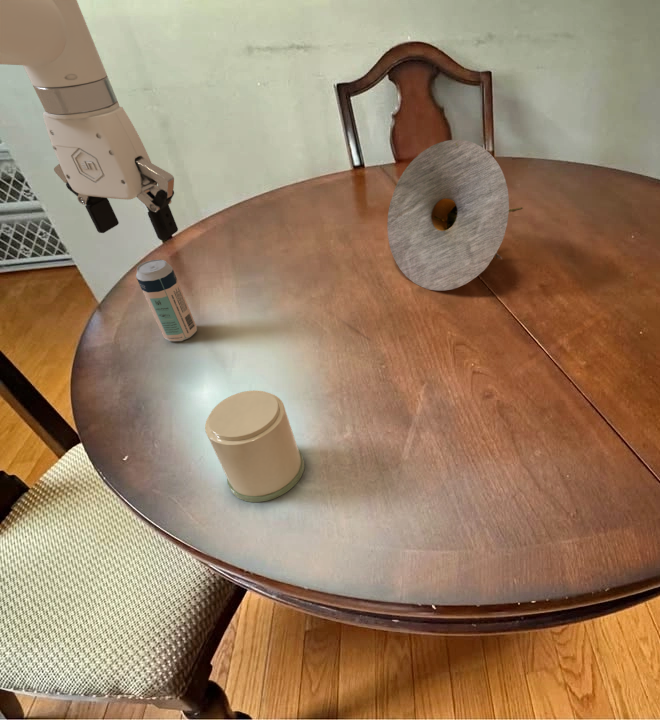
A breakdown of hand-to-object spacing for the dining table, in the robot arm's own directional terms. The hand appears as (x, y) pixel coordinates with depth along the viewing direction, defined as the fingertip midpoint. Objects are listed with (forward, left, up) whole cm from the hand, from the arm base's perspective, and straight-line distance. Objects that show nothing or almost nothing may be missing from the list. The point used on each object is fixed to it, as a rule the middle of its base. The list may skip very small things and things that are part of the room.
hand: (138, 232), depth 76 cm
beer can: (0, 0, -17) cm, 17 cm away
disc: (+47, +2, -17) cm, 50 cm away
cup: (+9, -34, -17) cm, 39 cm away
